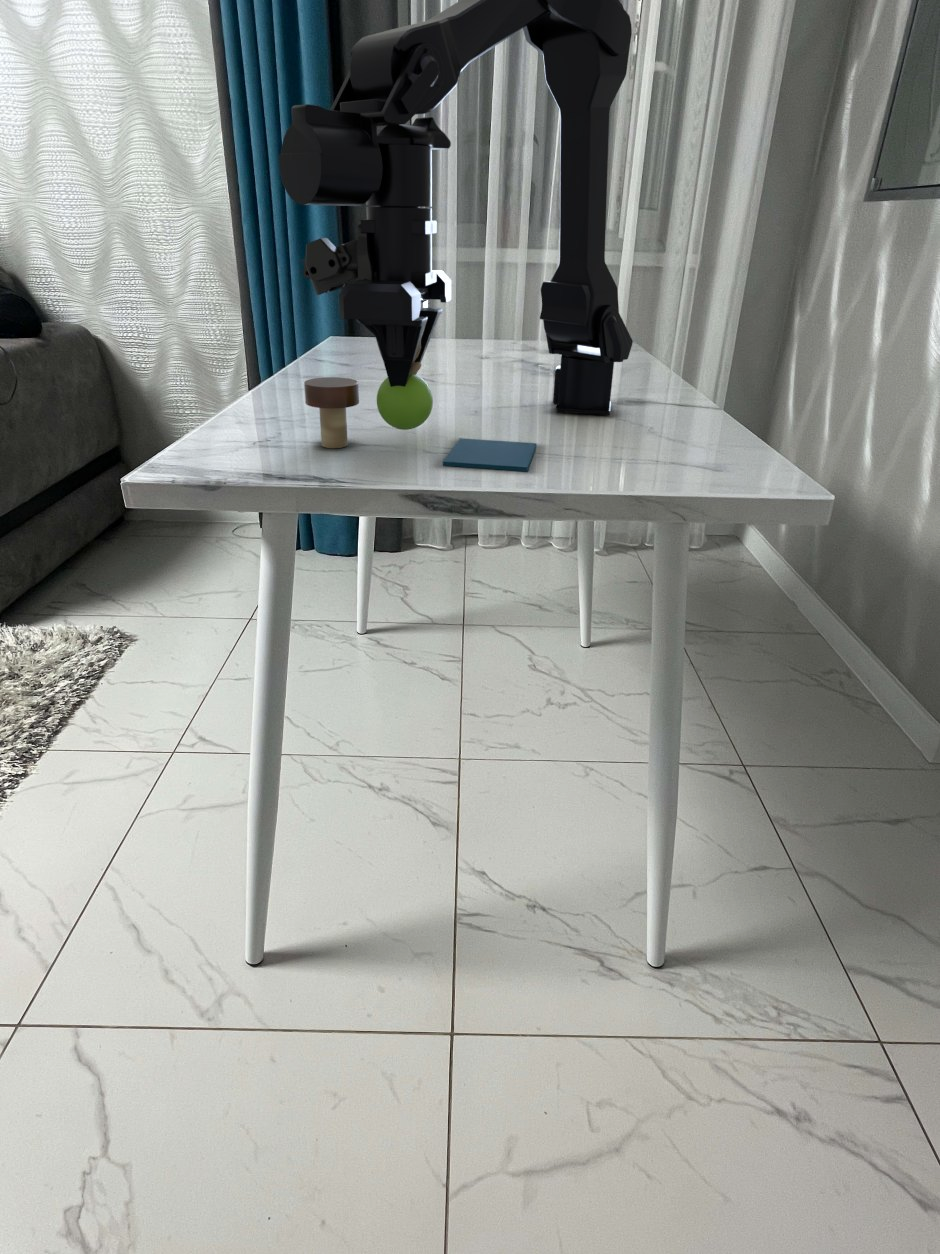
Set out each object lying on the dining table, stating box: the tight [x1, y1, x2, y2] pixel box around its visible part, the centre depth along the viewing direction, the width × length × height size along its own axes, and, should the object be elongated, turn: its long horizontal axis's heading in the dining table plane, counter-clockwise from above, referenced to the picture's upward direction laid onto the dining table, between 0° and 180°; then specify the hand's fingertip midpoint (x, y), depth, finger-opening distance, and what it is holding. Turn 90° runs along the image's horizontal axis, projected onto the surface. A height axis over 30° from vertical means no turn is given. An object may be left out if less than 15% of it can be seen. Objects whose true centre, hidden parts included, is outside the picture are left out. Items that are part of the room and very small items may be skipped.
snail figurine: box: [375, 338, 434, 431], centre depth 77 cm, size 5×6×12 cm
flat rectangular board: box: [442, 437, 538, 472], centre depth 79 cm, size 8×9×1 cm
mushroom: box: [303, 376, 360, 449], centre depth 80 cm, size 5×5×6 cm
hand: (402, 389), depth 78 cm, fingers closed on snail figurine, 3 cm apart
